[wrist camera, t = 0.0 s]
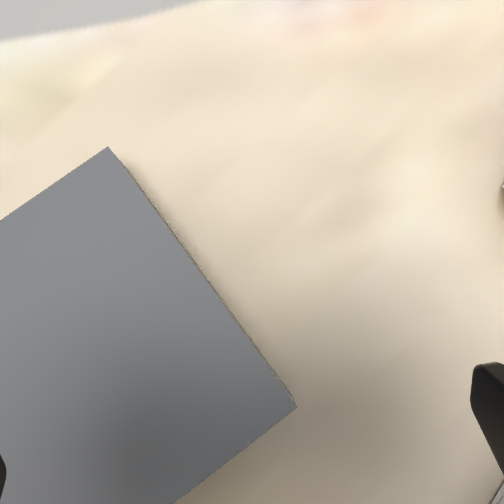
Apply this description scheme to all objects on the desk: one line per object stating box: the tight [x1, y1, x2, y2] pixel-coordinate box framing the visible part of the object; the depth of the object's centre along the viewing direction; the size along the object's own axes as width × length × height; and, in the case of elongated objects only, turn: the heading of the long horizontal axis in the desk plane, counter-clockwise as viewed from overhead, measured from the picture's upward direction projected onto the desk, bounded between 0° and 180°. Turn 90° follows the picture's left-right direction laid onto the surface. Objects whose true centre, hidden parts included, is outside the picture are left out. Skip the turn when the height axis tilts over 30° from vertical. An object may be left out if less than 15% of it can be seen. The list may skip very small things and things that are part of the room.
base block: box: [0, 147, 297, 504], centre depth 22 cm, size 15×15×3 cm
